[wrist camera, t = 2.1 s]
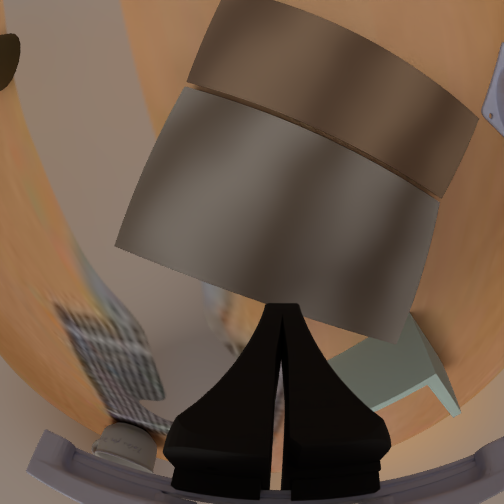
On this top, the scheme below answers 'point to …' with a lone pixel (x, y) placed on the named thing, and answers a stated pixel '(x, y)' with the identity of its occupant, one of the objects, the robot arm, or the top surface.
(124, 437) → the teacup
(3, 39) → the brown tall rounded piece
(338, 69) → the walnut floor row
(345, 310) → the grey oak plank
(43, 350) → the top surface
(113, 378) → the top surface
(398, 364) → the l-shaped corner panel
